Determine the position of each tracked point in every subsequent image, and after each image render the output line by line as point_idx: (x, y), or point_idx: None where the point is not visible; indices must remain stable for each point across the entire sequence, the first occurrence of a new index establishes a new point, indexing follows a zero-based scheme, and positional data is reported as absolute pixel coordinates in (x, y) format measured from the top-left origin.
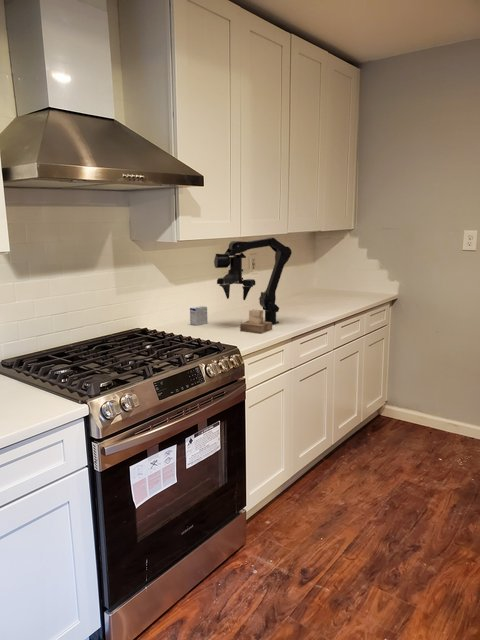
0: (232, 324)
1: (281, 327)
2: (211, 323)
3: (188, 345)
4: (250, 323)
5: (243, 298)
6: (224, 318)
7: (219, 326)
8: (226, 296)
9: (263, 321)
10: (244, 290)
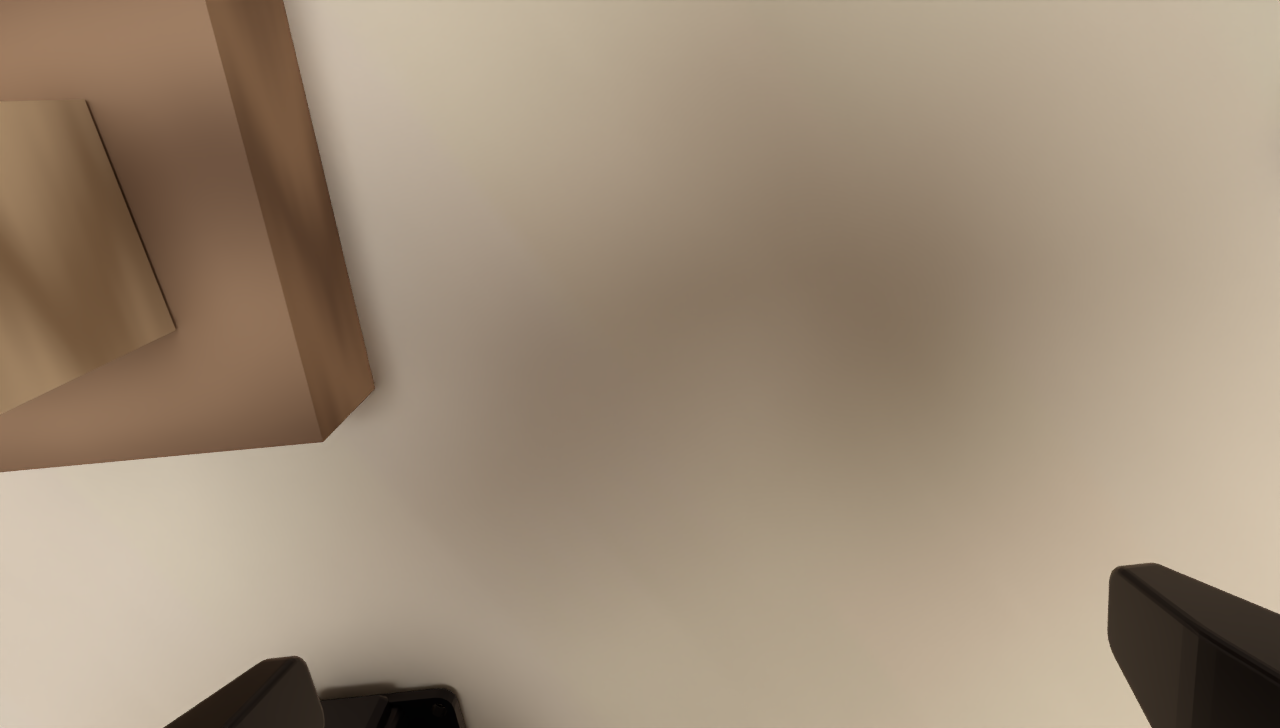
0: (799, 360)
1: (41, 625)
2: (1218, 185)
3: None
4: None
5: (242, 691)
6: None
7: (899, 48)
8: (1246, 606)
9: (54, 447)
10: None
